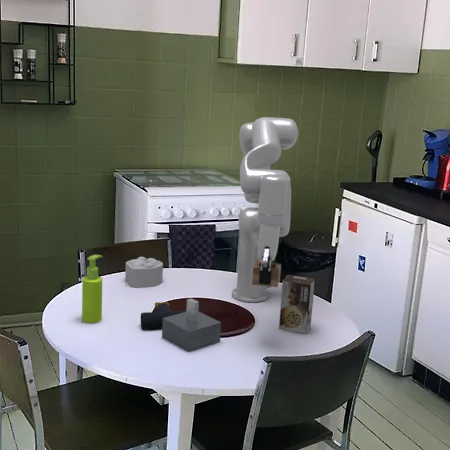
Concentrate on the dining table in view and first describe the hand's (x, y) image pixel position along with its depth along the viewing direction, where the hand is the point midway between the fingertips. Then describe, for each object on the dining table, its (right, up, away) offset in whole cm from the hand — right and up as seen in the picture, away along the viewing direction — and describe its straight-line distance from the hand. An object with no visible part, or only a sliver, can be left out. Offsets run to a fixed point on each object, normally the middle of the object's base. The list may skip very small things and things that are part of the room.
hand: (266, 279), depth 186 cm
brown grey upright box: (+10, -17, +17) cm, 26 cm away
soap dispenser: (-52, -14, +14) cm, 56 cm away
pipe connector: (-31, -15, +15) cm, 37 cm away
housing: (-22, -18, +4) cm, 28 cm away
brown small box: (0, -1, 0) cm, 1 cm away
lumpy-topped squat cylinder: (-41, -6, +49) cm, 64 cm away
